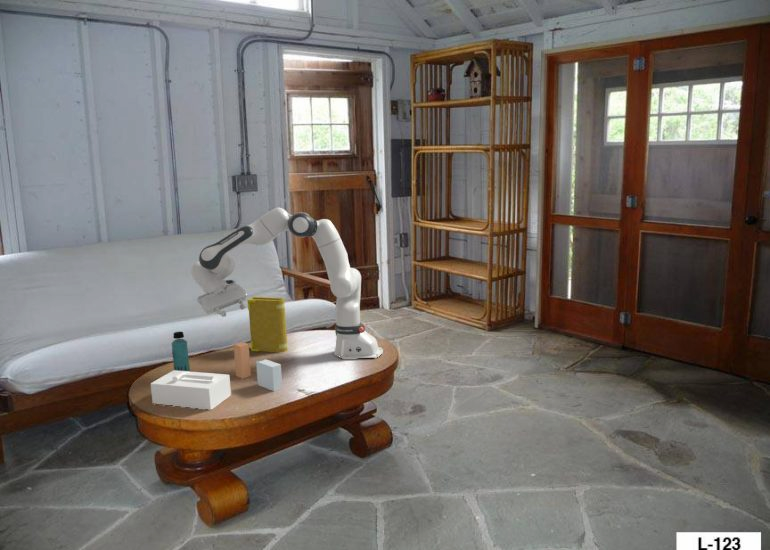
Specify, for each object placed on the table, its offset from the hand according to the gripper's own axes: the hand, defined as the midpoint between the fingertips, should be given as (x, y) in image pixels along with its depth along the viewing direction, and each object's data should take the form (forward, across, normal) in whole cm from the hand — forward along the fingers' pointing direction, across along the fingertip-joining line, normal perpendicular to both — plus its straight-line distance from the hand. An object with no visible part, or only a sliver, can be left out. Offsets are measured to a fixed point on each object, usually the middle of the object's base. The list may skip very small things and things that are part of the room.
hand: (234, 311), depth 261 cm
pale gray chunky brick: (+36, -6, +5) cm, 37 cm away
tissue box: (+25, -33, +10) cm, 42 cm away
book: (+7, +22, +31) cm, 39 cm away
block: (+21, -6, +16) cm, 28 cm away
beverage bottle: (+5, -24, +25) cm, 35 cm away
